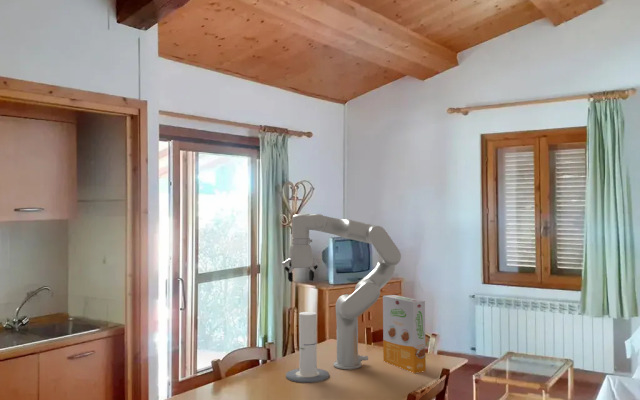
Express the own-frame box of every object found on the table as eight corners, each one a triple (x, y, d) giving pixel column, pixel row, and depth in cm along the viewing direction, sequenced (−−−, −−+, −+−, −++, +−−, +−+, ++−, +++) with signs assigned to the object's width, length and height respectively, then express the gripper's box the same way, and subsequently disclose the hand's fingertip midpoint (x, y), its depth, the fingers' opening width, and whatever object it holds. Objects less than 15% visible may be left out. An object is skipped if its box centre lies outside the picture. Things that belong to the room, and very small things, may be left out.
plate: (319, 368, 243) (319, 365, 243) (335, 379, 226) (335, 376, 226) (280, 373, 236) (280, 370, 236) (294, 384, 220) (294, 381, 220)
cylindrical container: (314, 376, 227) (314, 315, 228) (297, 375, 229) (297, 314, 229) (318, 371, 234) (317, 312, 235) (301, 370, 236) (301, 311, 236)
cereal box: (425, 371, 238) (424, 301, 238) (414, 373, 235) (413, 302, 235) (394, 359, 257) (393, 294, 258) (383, 361, 254) (382, 295, 255)
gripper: (315, 241, 252) (316, 279, 252) (279, 242, 246) (279, 281, 246) (322, 242, 245) (322, 280, 245) (284, 243, 239) (285, 282, 239)
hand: (301, 280), depth 245 cm, fingers open, 9 cm apart
